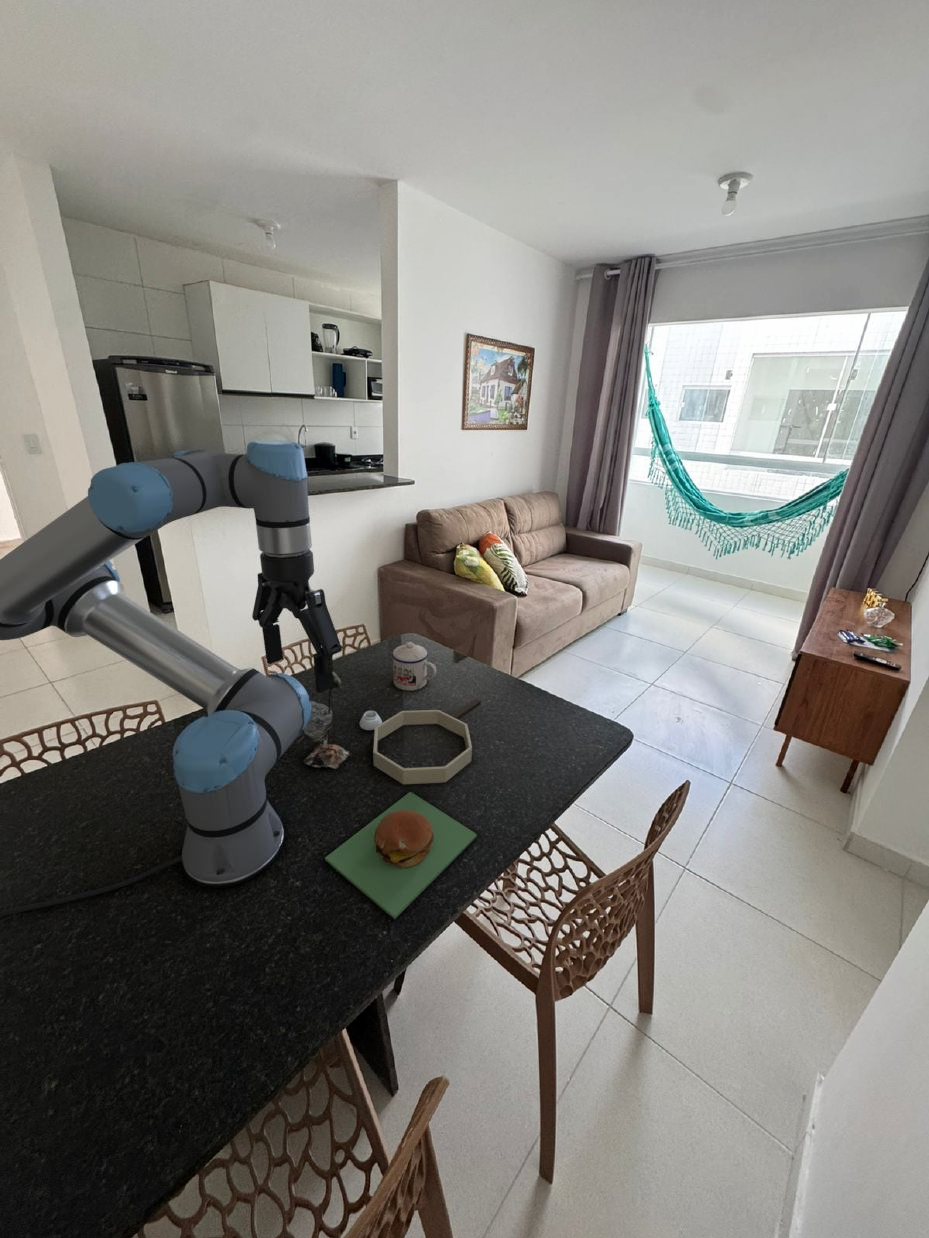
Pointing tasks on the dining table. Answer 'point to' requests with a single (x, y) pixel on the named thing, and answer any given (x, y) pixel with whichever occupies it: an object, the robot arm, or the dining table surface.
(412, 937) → the dining table surface
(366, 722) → the white upturned bowl
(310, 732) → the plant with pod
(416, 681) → the teacup with lid
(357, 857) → the napkin mat
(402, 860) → the burger
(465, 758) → the pan
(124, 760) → the dining table surface
